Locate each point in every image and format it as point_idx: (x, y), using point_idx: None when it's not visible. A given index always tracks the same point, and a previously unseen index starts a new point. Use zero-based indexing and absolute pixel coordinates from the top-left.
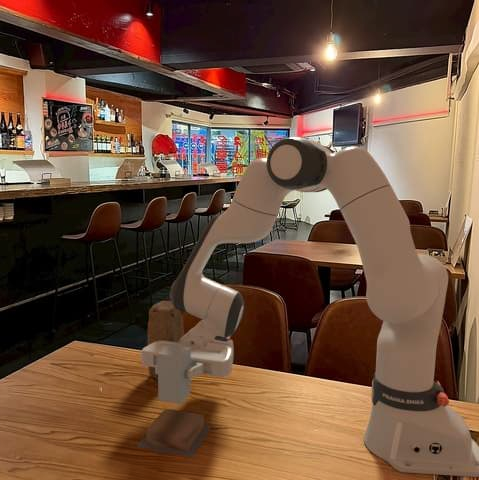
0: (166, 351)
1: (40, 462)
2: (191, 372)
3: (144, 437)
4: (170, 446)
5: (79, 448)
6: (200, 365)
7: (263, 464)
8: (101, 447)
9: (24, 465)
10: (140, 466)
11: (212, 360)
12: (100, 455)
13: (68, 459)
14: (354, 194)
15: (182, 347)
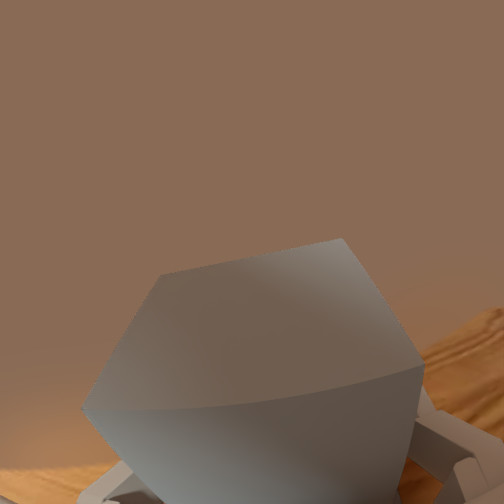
0: (307, 271)
1: (492, 336)
2: None
3: (398, 495)
4: None
5: (489, 388)
6: (90, 486)
7: (74, 494)
8: (460, 417)
9: (499, 322)
10: None
11: (5, 500)
12: (436, 402)
13: (470, 363)
14: None
15: (179, 390)
